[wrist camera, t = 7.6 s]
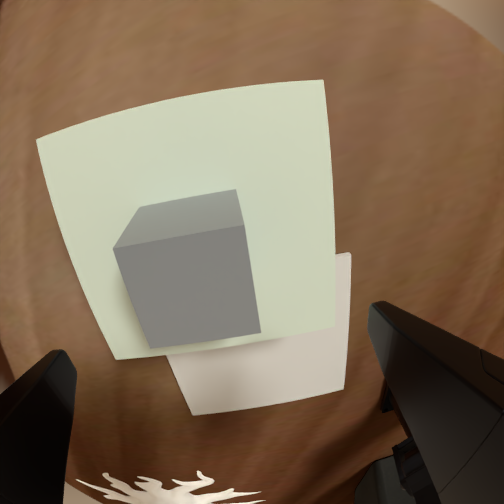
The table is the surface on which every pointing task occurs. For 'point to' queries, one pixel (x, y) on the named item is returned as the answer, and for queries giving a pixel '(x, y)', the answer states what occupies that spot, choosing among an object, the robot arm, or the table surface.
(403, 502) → the flower pot
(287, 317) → the cover sheet
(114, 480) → the tree stump
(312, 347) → the mat
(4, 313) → the table surface
